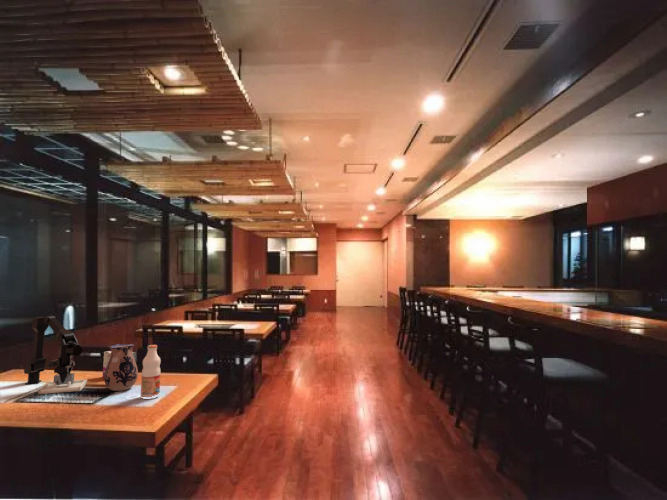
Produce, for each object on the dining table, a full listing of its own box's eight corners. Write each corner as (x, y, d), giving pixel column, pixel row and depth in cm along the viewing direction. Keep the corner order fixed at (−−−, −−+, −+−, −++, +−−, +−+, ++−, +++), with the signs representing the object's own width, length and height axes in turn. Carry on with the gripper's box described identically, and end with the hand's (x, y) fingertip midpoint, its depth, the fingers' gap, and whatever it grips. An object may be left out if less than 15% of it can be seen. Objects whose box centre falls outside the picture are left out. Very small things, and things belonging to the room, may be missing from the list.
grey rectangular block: (56, 382, 232) (56, 373, 233) (74, 381, 235) (74, 372, 236) (53, 384, 228) (53, 375, 228) (71, 383, 230) (72, 374, 231)
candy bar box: (121, 377, 256) (122, 351, 257) (114, 379, 252) (115, 353, 253) (109, 375, 261) (110, 350, 262) (102, 377, 256) (103, 351, 257)
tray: (47, 385, 236) (48, 378, 236) (86, 383, 243) (87, 375, 243) (38, 394, 220) (38, 385, 220) (80, 390, 227) (80, 382, 227)
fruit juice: (139, 396, 219) (141, 344, 221) (157, 393, 224) (159, 343, 226) (141, 400, 211) (144, 347, 213) (160, 398, 217) (163, 346, 218)
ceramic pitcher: (111, 395, 220) (114, 349, 221) (95, 388, 232) (97, 345, 234) (143, 388, 234) (145, 345, 235) (125, 382, 246) (127, 341, 248)
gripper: (54, 352, 238) (52, 378, 237) (44, 358, 221) (42, 387, 220) (75, 351, 242) (74, 377, 241) (67, 357, 225) (65, 385, 224)
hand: (63, 381), depth 231 cm, fingers closed on grey rectangular block, 5 cm apart
